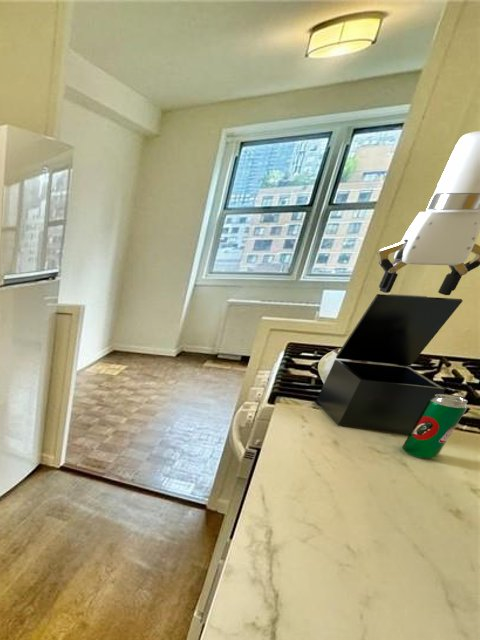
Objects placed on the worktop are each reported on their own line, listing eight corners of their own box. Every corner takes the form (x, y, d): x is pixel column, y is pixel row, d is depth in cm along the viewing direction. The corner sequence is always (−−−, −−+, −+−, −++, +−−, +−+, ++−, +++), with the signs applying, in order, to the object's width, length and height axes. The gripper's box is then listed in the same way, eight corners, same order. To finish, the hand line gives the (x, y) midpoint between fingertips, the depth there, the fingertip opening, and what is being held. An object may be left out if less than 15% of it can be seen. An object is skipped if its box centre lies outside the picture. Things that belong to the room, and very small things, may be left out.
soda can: (436, 462, 93) (472, 405, 88) (400, 454, 96) (433, 398, 91) (434, 453, 97) (469, 397, 91) (400, 445, 100) (431, 391, 94)
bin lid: (463, 300, 98) (455, 288, 101) (377, 295, 103) (372, 284, 106) (410, 365, 110) (404, 353, 113) (336, 358, 115) (332, 346, 118)
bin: (417, 436, 103) (445, 389, 98) (338, 425, 108) (360, 379, 103) (385, 409, 116) (409, 366, 111) (315, 401, 121) (335, 359, 116)
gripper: (504, 203, 96) (458, 292, 104) (390, 204, 102) (355, 288, 110) (529, 203, 90) (478, 298, 98) (407, 205, 96) (368, 293, 104)
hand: (413, 292), depth 104 cm, fingers open, 9 cm apart
